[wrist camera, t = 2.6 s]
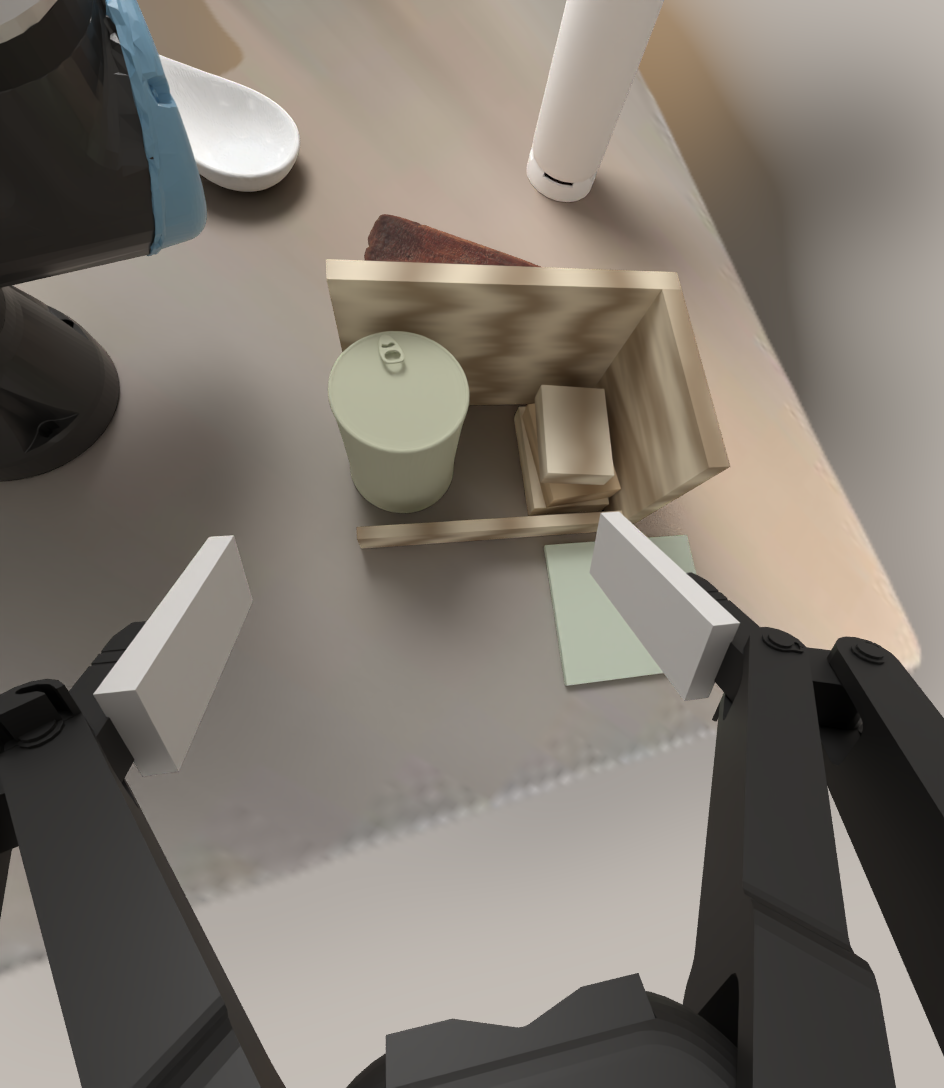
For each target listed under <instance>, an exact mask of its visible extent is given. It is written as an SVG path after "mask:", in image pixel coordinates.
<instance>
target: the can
mask: <svg viewBox="0 0 944 1088" xmlns="http://www.w3.org/2000/svg"><path fill="white" fill-rule="evenodd" d="M328 398H329V403H330V407H331V410H332V412H333V414H334V416H335V418H336V420H337V423H338V427H339V430H340V433H341V436H342V439H343V442H344V445H345V449H346V452H347V455H348V459H349V462H350V472H351V476H352V479H353V482H354V484H355V486H356V488H357V489H358V491H359V492H360V494H361V495H362V496H363V497H364V498H365V499H366V500H367V501H369V502H370V503H372V504H373V505H375V506H376V507H378V508H380V509H383V510H386V511H389V512H394V513H411V512H416V511H420V510H423V509H425V508H428V507H429V506H431V505H433V504H434V503H436V502H437V501H438V500H439V499H440V498H441V497H442V496H443V495H444V494H445V492H446V491H447V489H448V487H449V485H450V483H451V480H452V477H453V470H454V459H455V454H456V450H457V446H458V441H459V437H460V433H461V429H462V426H463V422H464V419H465V417H466V414H467V411H468V406H469V386H468V382H467V378H466V376H465V373H464V371H463V369H462V367H461V366H460V364H459V363H458V361H457V360H456V359H455V357H454V356H453V355H452V354H451V353H450V352H449V351H448V350H447V349H445V348H444V347H443V346H441V345H440V344H438V343H437V342H435V341H433V340H431V339H429V338H427V337H424V336H422V335H419V334H415V333H410V332H404V331H385V332H379V333H375V334H372V335H369V336H366V337H364V338H362V339H360V340H358V341H356V342H354V343H353V344H352V345H350V346H349V347H348V348H347V349H346V350H344V351H343V353H342V354H341V355H340V356H339V357H338V359H337V360H336V362H335V364H334V366H333V368H332V370H331V373H330V376H329V381H328Z"/></svg>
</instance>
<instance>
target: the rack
mask: <svg viewBox="0 0 944 1088" xmlns="http://www.w3.org/2000/svg"><path fill="white" fill-rule="evenodd" d="M326 276H327V283H328V288H329V292H330V297H331V302H332V306H333V311H334V315H335V320H336V325H337V329H338V334H339V339H340V343H341V348H342V352H343V351H344V350H346V349H347V348H348V347H349V346H350V345H352V344H353V343H354V342H356V341H358V340H360V339H362V338H364V337H366V336H369V335H372V334H375V333H379V332H385V331H404V332H410V333H415V334H419V335H422V336H424V337H427V338H429V339H431V340H433V341H435V342H437V343H438V344H440V345H441V346H443V347H444V348H445V349H447V350H448V351H449V352H450V353H451V354H452V355H453V356H454V357H455V359H456V360H457V361H458V363H459V364H460V366H461V367H462V369H463V371H464V373H465V376H466V378H467V382H468V386H469V405H508V404H535V396H536V394H537V392H538V390H539V388H540V386H541V385H554V386H568V387H582V388H597V389H604V390H605V399H606V408H607V416H608V425H609V434H610V442H611V451H612V460H613V465H614V468H615V471H616V474H617V478H618V481H619V484H620V487H621V489H620V490H619V491H617V492H616V493H615V494H614V495H612V496H611V497H608V500H609V505H607V506H606V507H605V508H604V510H605V512H620V513H621V514H622V515H623V516H624V517H625V518H627V519H628V520H629V521H630V522H631V523H632V524H635V523H636V522H638V521H640V520H641V519H643V518H645V517H647V516H648V515H650V514H652V513H653V512H655V511H657V510H658V509H660V508H662V507H663V506H665V505H667V504H668V503H670V502H672V501H673V500H675V499H677V498H678V497H680V496H682V495H683V494H685V493H687V492H689V491H690V490H692V489H694V488H695V487H697V486H699V485H700V484H702V483H704V482H705V481H707V480H709V479H710V478H712V477H714V476H715V475H717V474H719V473H720V472H722V471H724V470H725V469H727V468H729V467H730V463H729V460H728V456H727V452H726V449H725V445H724V442H723V438H722V434H721V431H720V427H719V423H718V420H717V416H716V412H715V409H714V405H713V402H712V398H711V394H710V391H709V387H708V383H707V380H706V376H705V373H704V369H703V365H702V362H701V358H700V354H699V351H698V347H697V343H696V340H695V336H694V333H693V329H692V325H691V322H690V318H689V314H688V311H687V307H686V304H685V300H684V296H683V293H682V289H681V285H680V282H679V278H678V274H677V272H657V271H630V270H603V269H576V268H549V267H522V266H495V265H468V264H440V263H413V262H386V261H359V260H332V259H326ZM605 512H591V513H574V514H558V515H542V516H526V517H510V518H494V519H478V520H462V521H445V522H429V523H413V524H397V525H381V526H365V527H357V540H358V542H359V545H360V547H361V549H363V548H377V547H391V546H406V545H420V544H434V543H448V542H463V541H477V540H491V539H505V538H520V537H534V536H548V535H562V534H577V533H591V532H597V529H598V524H599V518H600V513H605Z"/></svg>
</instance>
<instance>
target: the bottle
mask: <svg viewBox="0 0 944 1088" xmlns="http://www.w3.org/2000/svg"><path fill="white" fill-rule="evenodd" d="M663 2H664V0H567V1H566V5H565V10H564V14H563V18H562V22H561V26H560V30H559V35H558V39H557V43H556V47H555V51H554V55H553V60H552V64H551V68H550V72H549V76H548V80H547V85H546V89H545V93H544V97H543V101H542V105H541V110H540V114H539V118H538V122H537V126H536V130H535V135H534V139H533V146H532V149H531V152H530V155H529V160H528V164H527V176H528V178H529V180H530V182H531V184H532V185H533V186H534V187H535V188H536V189H537V191H538V192H540V193H542V194H543V195H545V196H546V197H548V198H551V199H553V200H556V201H562V202H573V201H578V200H580V199H582V198H584V197H585V196H586V195H587V194H588V193H589V192H590V190H591V187H592V185H593V182H594V180H595V177H596V173H597V170H598V168H599V167H600V164H601V162H602V159H603V156H604V154H605V151H606V149H607V146H608V144H609V141H610V138H611V136H612V133H613V131H614V128H615V126H616V123H617V120H618V118H619V115H620V113H621V110H622V107H623V105H624V102H625V100H626V97H627V95H628V92H629V89H630V87H631V84H632V82H633V79H634V77H635V74H636V71H637V69H638V66H639V64H640V61H641V58H642V56H643V53H644V51H645V48H646V46H647V43H648V40H649V38H650V35H651V33H652V30H653V28H654V25H655V22H656V20H657V17H658V15H659V12H660V9H661V7H662V4H663ZM544 173H546V174H548V175H549V176H551V177H552V178H554V179H557V180H560V181H562V182H569V183H573V185H572V186H571V185H563V184H560V183H557V182H554V181H552V180H551V179H549V178H548V177H546V176H545V175H544Z"/></svg>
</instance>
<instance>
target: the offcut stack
mask: <svg viewBox="0 0 944 1088" xmlns="http://www.w3.org/2000/svg"><path fill="white" fill-rule="evenodd" d="M514 423H515V430H516V436H517V443H518V450H519V457H520V463H521V470H522V477H523V484H524V490H525V497H526V504H527V511H528V516H532V515H548V514H564V513H580V512H596V511H601V510H602V509H603V508H605V507H606V506H607V505H609V500H608V497H611V496H612V495H614V494H615V493H616V492H617V491H619V490H620V489H621V487H620V484H619V481H618V478H617V474H616V471H615V468H614V465H613V460H612V451H611V442H610V434H609V425H608V416H607V408H606V399H605V390H604V389H597V388H582V387H568V386H554V385H541V386H540V388H539V390H538V392H537V394H536V396H535V404H528V405H527V406H523V407H518V410H517V412H516V414H515V417H514Z"/></svg>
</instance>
